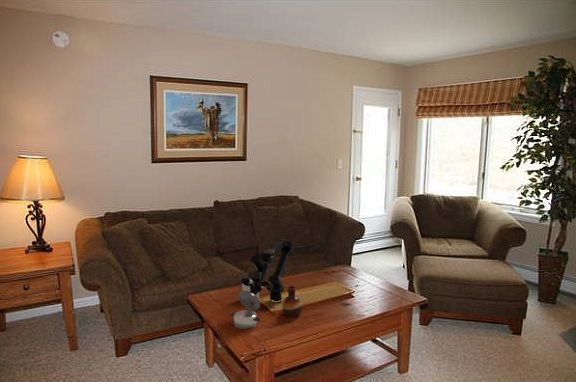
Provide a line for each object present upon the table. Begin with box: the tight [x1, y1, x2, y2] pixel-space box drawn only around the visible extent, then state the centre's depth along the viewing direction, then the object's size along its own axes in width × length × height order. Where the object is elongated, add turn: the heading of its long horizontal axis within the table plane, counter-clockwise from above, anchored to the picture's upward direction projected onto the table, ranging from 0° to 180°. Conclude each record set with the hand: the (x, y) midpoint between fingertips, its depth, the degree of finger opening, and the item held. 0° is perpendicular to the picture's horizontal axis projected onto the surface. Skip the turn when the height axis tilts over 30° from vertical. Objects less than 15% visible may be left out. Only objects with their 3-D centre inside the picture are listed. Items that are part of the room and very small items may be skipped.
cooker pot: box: [230, 309, 261, 330], centre depth 209 cm, size 12×17×5 cm
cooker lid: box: [237, 290, 261, 311], centre depth 212 cm, size 13×13×2 cm
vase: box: [281, 285, 303, 318], centre depth 218 cm, size 11×11×15 cm
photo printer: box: [241, 279, 260, 300], centre depth 240 cm, size 10×4×12 cm, turn 72°
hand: (250, 297), depth 213 cm, fingers closed
